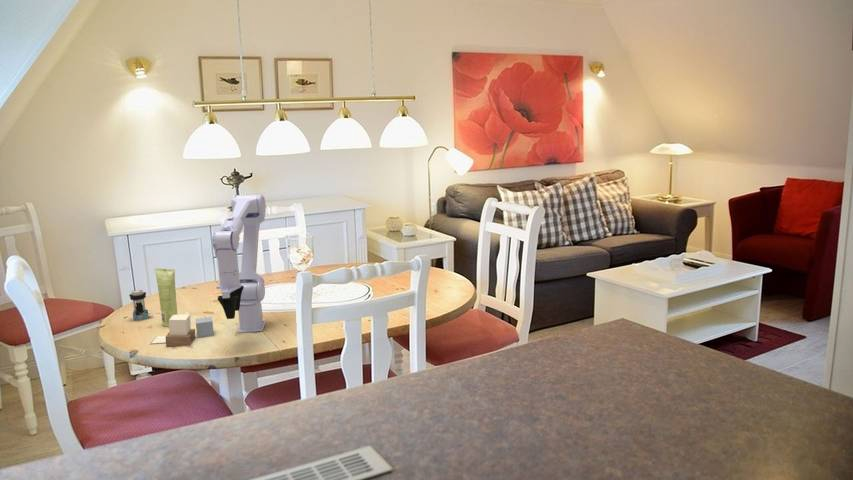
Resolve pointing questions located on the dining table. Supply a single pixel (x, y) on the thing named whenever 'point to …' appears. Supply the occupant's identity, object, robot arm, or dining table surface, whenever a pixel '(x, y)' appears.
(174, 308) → the tube
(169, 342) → the walnut block
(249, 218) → the robot arm
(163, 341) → the swatch
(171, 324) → the cream cube
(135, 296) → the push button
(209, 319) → the slate cube
